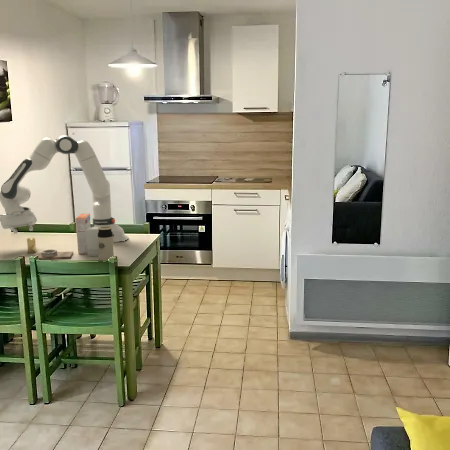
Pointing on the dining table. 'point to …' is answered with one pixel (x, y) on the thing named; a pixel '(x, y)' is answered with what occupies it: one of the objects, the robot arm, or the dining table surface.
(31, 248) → the cylinder
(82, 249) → the cracker box
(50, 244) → the dining table surface
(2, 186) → the robot arm
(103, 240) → the travel mug
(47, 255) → the coupling base
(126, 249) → the dining table surface
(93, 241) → the skincare box
